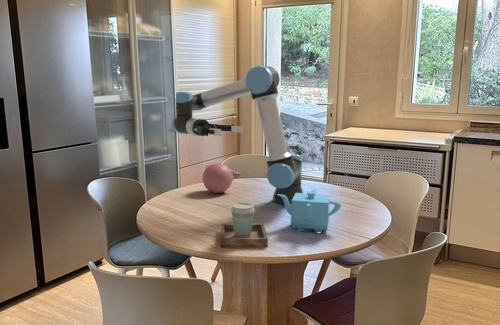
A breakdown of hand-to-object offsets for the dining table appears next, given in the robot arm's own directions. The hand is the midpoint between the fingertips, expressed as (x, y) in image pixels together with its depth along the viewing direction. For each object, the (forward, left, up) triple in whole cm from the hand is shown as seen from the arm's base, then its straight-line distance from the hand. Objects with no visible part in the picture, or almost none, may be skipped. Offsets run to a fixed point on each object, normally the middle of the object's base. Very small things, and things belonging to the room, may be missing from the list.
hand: (231, 131), depth 185 cm
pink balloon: (+4, -34, -36) cm, 50 cm away
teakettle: (-30, +21, -36) cm, 51 cm away
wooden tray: (-4, +32, -36) cm, 48 cm away
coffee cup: (-3, +32, -35) cm, 48 cm away
